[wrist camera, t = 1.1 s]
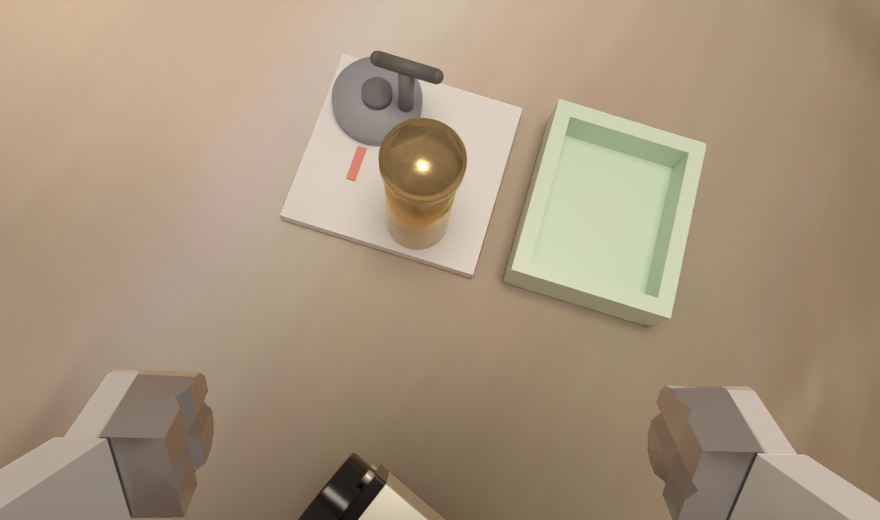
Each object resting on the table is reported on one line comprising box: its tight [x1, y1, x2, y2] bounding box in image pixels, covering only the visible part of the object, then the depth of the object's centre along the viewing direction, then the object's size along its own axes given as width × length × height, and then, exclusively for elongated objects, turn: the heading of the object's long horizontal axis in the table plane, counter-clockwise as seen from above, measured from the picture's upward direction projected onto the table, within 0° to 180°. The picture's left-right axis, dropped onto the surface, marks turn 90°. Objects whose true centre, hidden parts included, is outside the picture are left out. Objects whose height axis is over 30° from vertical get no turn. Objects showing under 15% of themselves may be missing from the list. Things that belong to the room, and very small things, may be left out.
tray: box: [502, 99, 706, 327], centre depth 41 cm, size 10×12×4 cm
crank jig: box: [280, 51, 522, 278], centre depth 39 cm, size 13×12×7 cm
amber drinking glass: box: [378, 118, 467, 250], centre depth 36 cm, size 4×4×10 cm
